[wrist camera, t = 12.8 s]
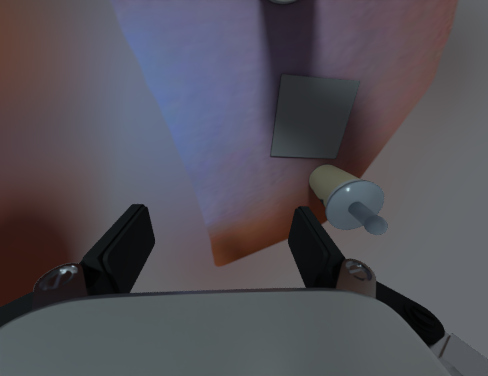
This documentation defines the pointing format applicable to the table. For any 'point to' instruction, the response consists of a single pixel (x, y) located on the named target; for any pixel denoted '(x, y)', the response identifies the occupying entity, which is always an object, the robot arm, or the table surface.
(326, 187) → the coffee cup
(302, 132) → the mat
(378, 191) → the lid
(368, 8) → the table surface
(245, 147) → the table surface
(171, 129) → the table surface
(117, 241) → the robot arm
